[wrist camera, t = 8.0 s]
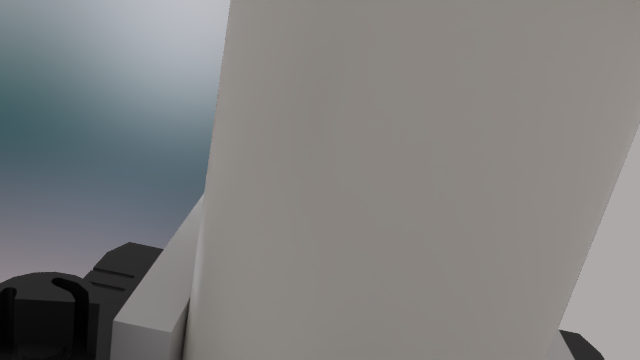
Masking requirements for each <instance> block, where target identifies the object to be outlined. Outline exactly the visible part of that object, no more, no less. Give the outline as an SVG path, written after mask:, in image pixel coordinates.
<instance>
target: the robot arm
mask: <svg viewBox="0 0 640 360" xmlns="http://www.w3.org/2000/svg"><path fill="white" fill-rule="evenodd" d="M203 199H204V194H203V196H202V197H201V199H200V200H199V201H198V203H197V204H196V205H195V207H194V208H193V210H192V211H191V212H190V214H189V215H188V217H187V218H186V219H185V221H184V222H183V223H182V225H181V226H180V228H179V229H178V230H177V232H176V233H175V235H174V236H173V238H172V239H171V240H170V242H169V243H168V245H167V246H166V247H165V249H160V248H155V247H150V246H146V245H141V244H136V243H131V242H129V243H126V244H124V245H122V246H120V247H118V248H116V249H114V250H111V251H109V252H107V253H106V254H105V255H104V257H103V258H102V259H101V260H100V261H99V262H98V263H97V264H96V265H95V266H94V268H93V271H90V272H89V273H88V274H87V275H86V276H85V277H84V278H83V279H82V278H80V277H78V276H76V275H70V274H65V273H58V272H41V273H40V272H38V273H31V274H26V275H22V276H17V277H13V278H11V279H9V280H6V281H4V282H2V283H0V360H182V354H183V347H184V339H185V332H186V325H187V317H188V310H189V303H190V295H191V288H192V280H193V273H194V266H195V258H196V251H197V244H198V236H199V229H200V222H201V214H202V207H203ZM546 360H604V358H603V356H602V355H601V353H600V352H598V351H597V350H596V349H595V348H594V347H593V346H592V345H591V344H590V343H589V342H588V341H586V340H585V339H584V338H583V337H582V336H581V335H580V334H577V333H573V332H568V331H563V330H557V332H556V335H555V337H554V340H553V342H552V345H551V347H550V350H549V352H548V355H547V357H546Z"/></svg>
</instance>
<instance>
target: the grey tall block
mask: <svg viewBox="0 0 640 360" xmlns="http://www.w3.org/2000/svg"><path fill="white" fill-rule="evenodd" d="M639 124H640V0H231V2H230V8H229V16H228V24H227V31H226V38H225V45H224V53H223V60H222V67H221V74H220V82H219V89H218V97H217V104H216V111H215V119H214V126H213V134H212V141H211V148H210V156H209V163H208V170H207V177H206V185H205V193H204V199H203V207H202V214H201V222H200V229H199V236H198V244H197V251H196V258H195V266H194V273H193V280H192V288H191V295H190V303H189V310H188V317H187V325H186V332H185V339H184V347H183V354H182V360H546V357H547V355H548V352H549V350H550V347H551V345H552V342H553V340H554V337H555V335H556V332H557V330H558V327H559V325H560V322H561V320H562V317H563V315H564V312H565V310H566V307H567V305H568V302H569V300H570V297H571V295H572V292H573V290H574V287H575V284H576V282H577V280H578V277H579V275H580V272H581V270H582V267H583V264H584V262H585V260H586V257H587V255H588V252H589V249H590V247H591V245H592V242H593V239H594V237H595V234H596V232H597V229H598V227H599V225H600V222H601V219H602V217H603V214H604V212H605V209H606V207H607V204H608V202H609V199H610V197H611V194H612V192H613V189H614V187H615V184H616V182H617V179H618V177H619V174H620V172H621V169H622V167H623V164H624V162H625V159H626V157H627V154H628V152H629V149H630V147H631V144H632V142H633V139H634V137H635V134H636V132H637V129H638V127H639Z"/></svg>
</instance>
